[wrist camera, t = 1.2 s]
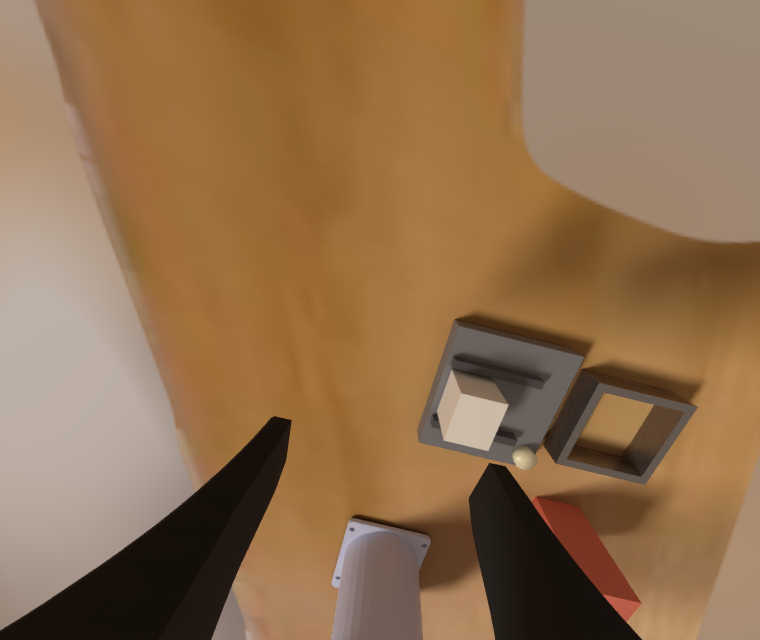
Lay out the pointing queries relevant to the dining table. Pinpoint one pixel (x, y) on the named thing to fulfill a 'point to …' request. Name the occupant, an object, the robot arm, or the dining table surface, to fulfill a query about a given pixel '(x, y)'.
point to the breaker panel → (505, 388)
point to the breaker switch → (471, 410)
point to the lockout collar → (644, 447)
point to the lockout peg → (588, 553)
